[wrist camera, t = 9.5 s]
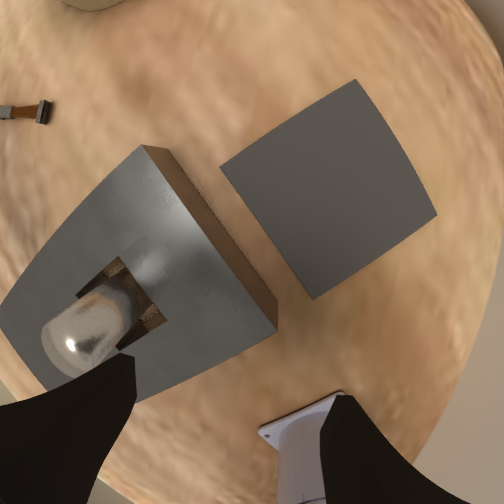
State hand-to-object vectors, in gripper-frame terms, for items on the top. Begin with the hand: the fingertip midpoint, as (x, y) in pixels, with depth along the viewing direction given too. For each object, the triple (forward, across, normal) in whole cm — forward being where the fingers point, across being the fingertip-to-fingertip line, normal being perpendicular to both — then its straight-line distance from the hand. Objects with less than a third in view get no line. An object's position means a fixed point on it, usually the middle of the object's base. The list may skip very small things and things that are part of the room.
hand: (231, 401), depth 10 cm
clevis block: (+10, +10, +3) cm, 15 cm away
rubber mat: (+10, -4, -7) cm, 13 cm away
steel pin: (+10, +7, +1) cm, 13 cm away
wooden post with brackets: (+11, +21, -10) cm, 26 cm away
